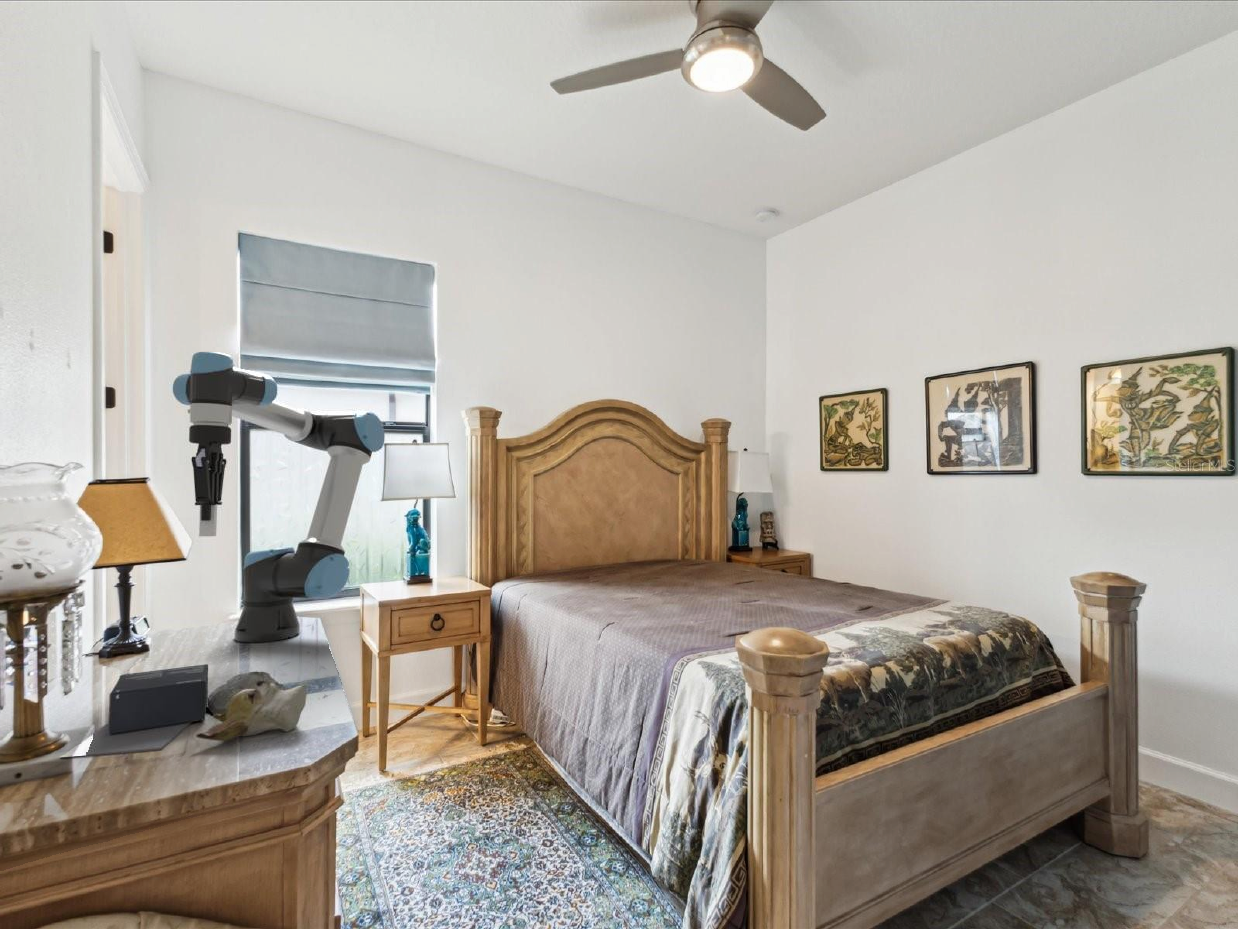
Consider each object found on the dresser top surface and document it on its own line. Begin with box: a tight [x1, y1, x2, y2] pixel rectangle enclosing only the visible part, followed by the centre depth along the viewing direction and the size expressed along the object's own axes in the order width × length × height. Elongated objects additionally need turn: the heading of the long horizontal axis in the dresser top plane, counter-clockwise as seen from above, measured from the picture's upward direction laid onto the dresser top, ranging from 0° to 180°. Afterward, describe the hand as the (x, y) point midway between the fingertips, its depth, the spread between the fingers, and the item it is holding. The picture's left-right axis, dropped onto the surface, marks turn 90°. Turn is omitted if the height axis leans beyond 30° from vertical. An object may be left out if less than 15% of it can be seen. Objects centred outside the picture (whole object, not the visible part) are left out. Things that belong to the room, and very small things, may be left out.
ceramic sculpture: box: [195, 681, 309, 742], centre depth 103 cm, size 11×9×15 cm
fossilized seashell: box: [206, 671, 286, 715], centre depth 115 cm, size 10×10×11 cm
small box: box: [107, 663, 209, 735], centre depth 108 cm, size 13×7×12 cm
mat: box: [86, 706, 208, 757], centre depth 103 cm, size 18×13×1 cm
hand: (207, 536), depth 133 cm, fingers closed
